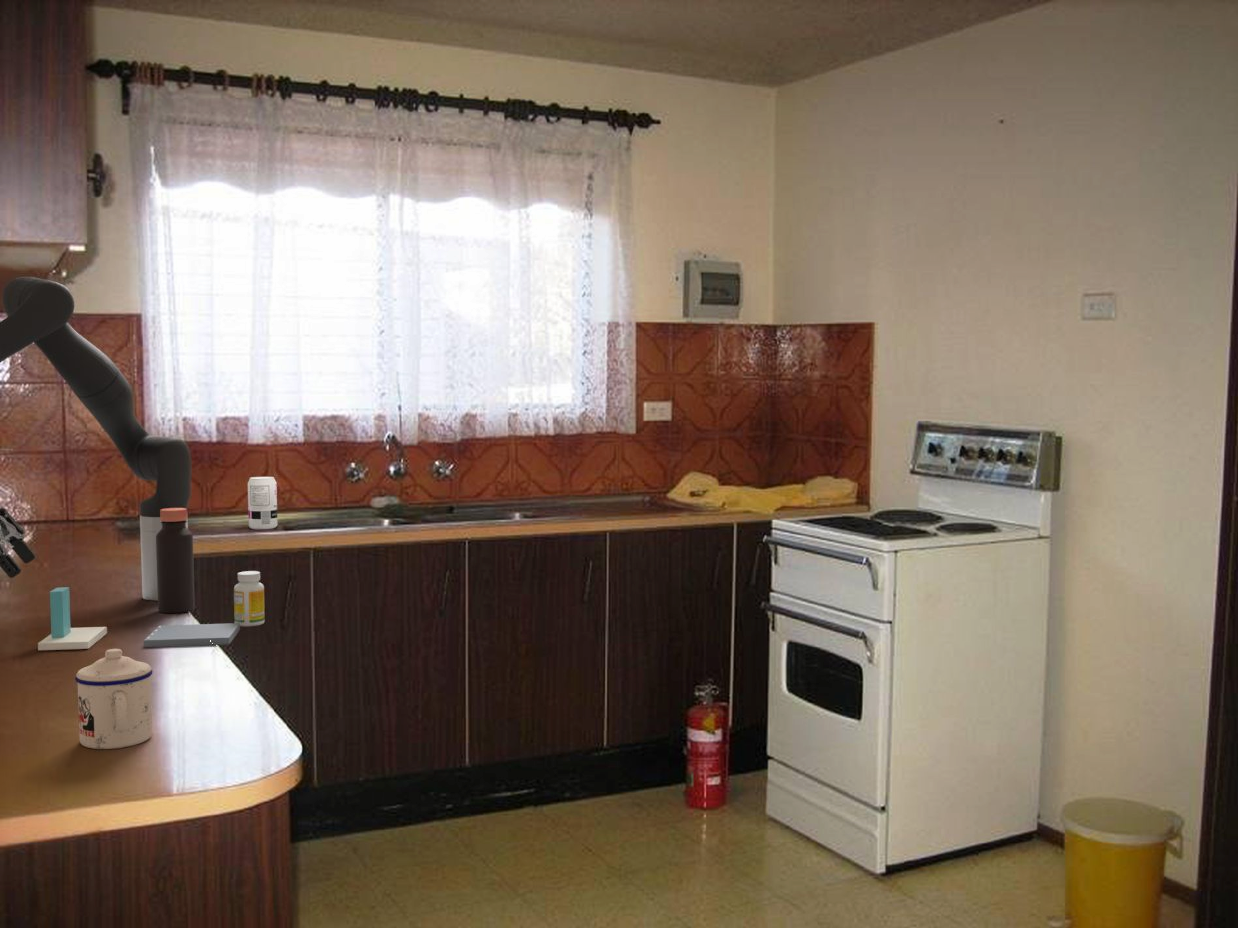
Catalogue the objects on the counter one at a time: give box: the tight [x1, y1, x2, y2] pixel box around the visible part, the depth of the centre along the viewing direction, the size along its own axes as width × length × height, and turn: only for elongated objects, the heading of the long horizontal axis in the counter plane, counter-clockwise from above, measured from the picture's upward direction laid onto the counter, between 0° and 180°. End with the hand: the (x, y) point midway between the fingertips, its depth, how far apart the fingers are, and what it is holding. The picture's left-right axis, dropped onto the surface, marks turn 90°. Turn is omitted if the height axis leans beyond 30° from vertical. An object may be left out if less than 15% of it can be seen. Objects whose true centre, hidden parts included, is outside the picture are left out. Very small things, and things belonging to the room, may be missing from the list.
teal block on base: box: [37, 586, 108, 651], centre depth 211 cm, size 12×8×9 cm, turn 9°
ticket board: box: [143, 622, 241, 648], centre depth 215 cm, size 12×14×1 cm
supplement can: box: [247, 476, 279, 531], centre depth 362 cm, size 8×8×15 cm
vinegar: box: [156, 508, 196, 615], centre depth 238 cm, size 7×7×20 cm
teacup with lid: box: [74, 648, 153, 750], centre depth 155 cm, size 12×9×12 cm
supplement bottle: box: [233, 570, 265, 627], centre depth 226 cm, size 5×5×10 cm
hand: (24, 567), depth 213 cm, fingers open, 8 cm apart
